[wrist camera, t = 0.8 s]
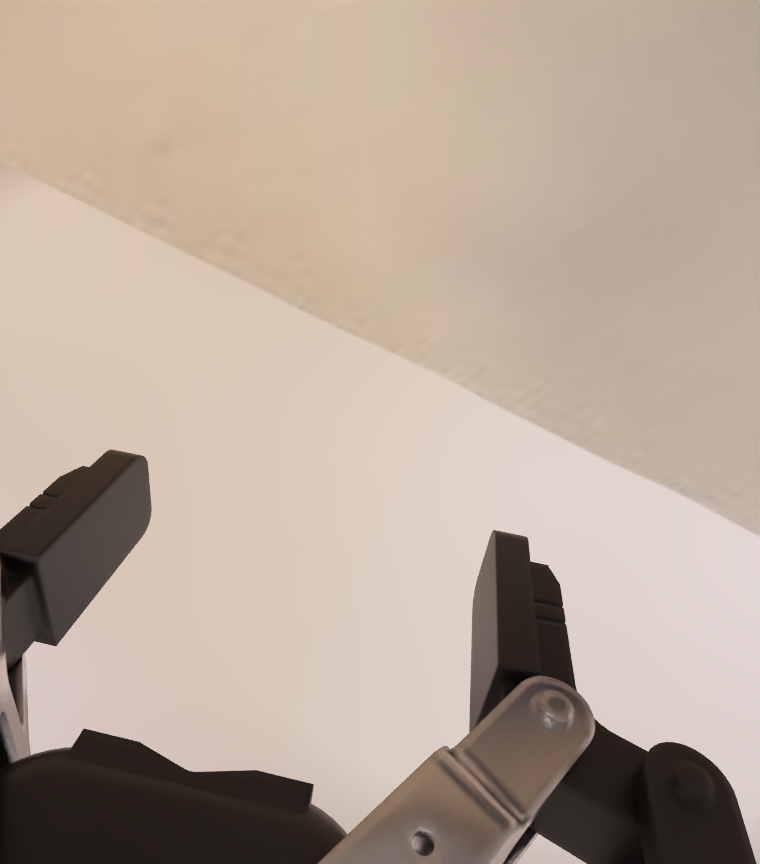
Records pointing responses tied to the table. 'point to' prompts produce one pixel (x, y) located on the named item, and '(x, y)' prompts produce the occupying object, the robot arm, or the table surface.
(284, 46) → the table surface
